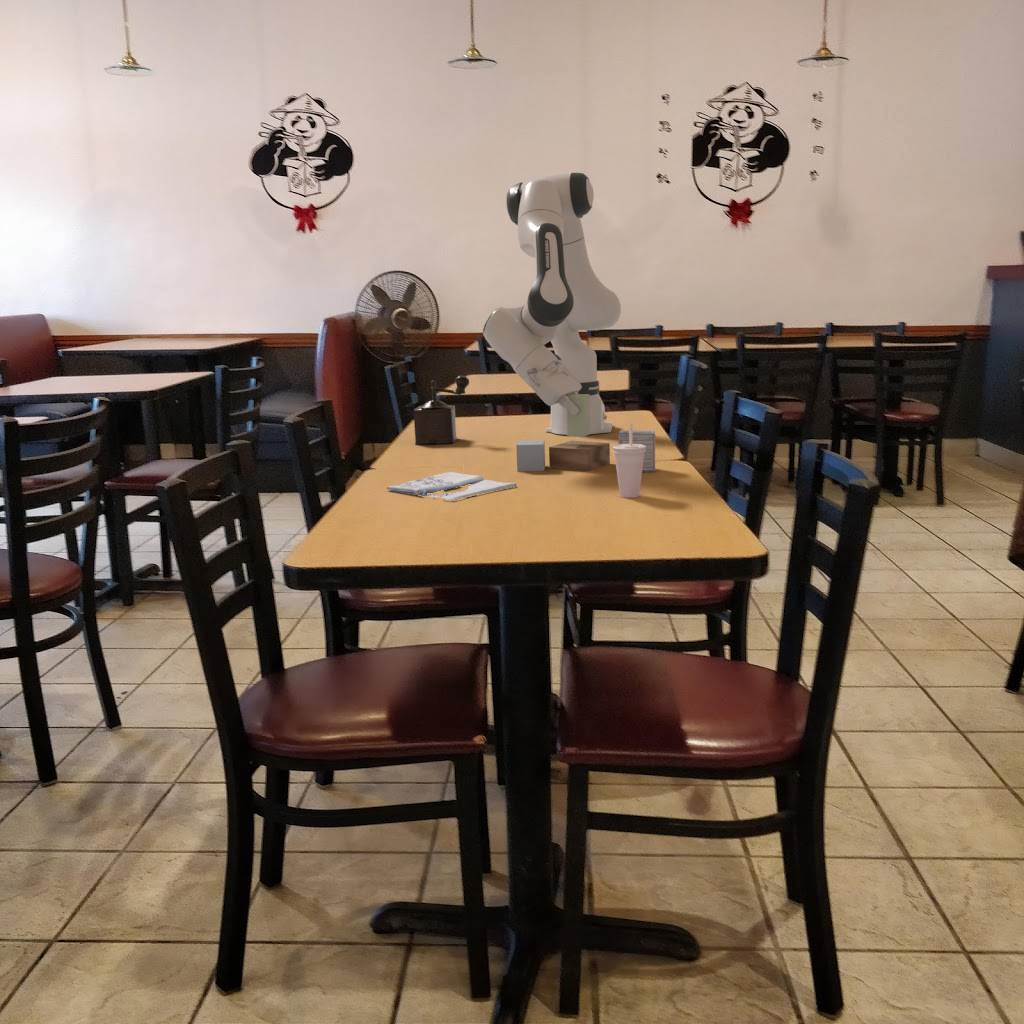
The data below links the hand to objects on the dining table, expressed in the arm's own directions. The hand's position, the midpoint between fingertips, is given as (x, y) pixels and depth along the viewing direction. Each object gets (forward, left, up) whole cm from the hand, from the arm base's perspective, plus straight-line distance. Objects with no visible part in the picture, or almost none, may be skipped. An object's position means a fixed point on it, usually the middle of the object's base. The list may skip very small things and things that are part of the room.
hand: (581, 411), depth 214 cm
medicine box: (+4, +13, -13) cm, 19 cm away
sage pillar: (0, -1, -5) cm, 5 cm away
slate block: (+5, -11, -12) cm, 17 cm away
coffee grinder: (-30, -47, -13) cm, 57 cm away
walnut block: (0, -1, -13) cm, 13 cm away
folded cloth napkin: (+29, -20, -13) cm, 38 cm away
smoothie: (+30, +17, -13) cm, 37 cm away
